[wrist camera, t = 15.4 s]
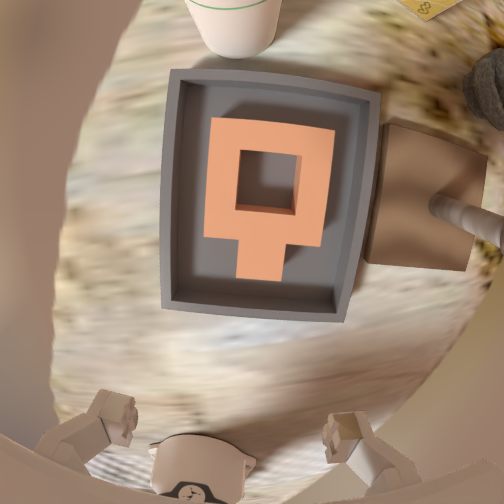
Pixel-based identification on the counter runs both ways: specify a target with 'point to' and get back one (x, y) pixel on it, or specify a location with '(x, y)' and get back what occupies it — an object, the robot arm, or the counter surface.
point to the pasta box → (427, 7)
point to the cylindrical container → (236, 25)
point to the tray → (263, 193)
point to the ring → (261, 217)
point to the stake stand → (428, 203)
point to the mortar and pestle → (487, 88)
